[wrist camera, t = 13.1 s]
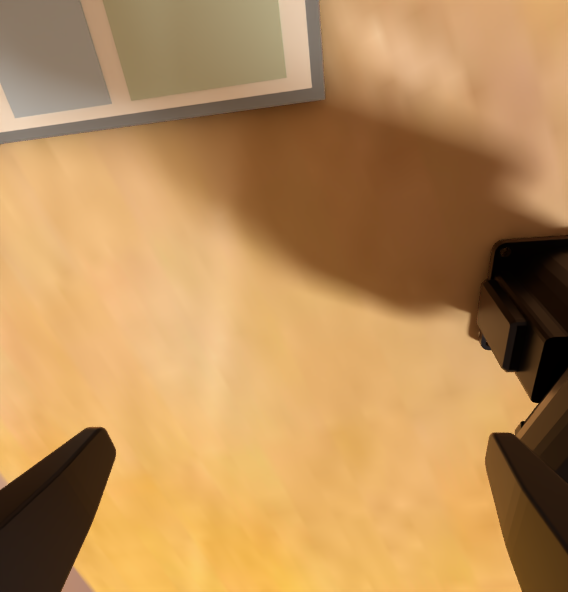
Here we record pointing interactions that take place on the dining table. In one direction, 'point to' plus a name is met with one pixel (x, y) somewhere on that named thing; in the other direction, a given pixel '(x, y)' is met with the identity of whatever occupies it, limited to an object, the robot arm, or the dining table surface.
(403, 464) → the dining table surface
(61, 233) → the dining table surface
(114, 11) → the picture board
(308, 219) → the dining table surface
